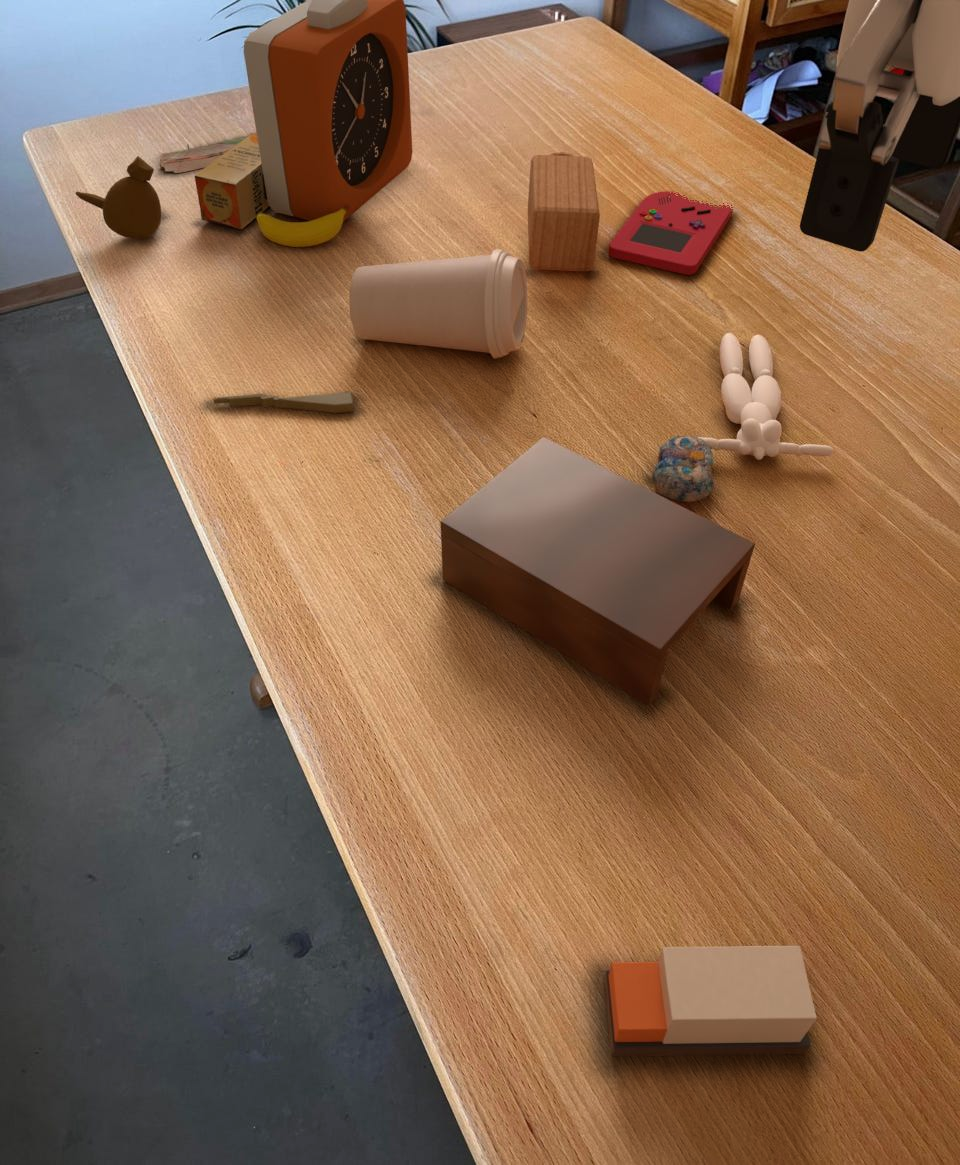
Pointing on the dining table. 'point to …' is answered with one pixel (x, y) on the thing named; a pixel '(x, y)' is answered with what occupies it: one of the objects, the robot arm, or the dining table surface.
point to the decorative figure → (755, 404)
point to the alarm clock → (330, 103)
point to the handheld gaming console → (670, 232)
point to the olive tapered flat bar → (295, 402)
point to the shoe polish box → (233, 186)
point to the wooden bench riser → (591, 563)
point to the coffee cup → (443, 303)
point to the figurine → (130, 203)
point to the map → (196, 156)
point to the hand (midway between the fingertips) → (875, 197)
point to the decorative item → (562, 213)
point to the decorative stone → (684, 469)
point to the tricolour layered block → (710, 1002)
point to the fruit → (302, 229)
